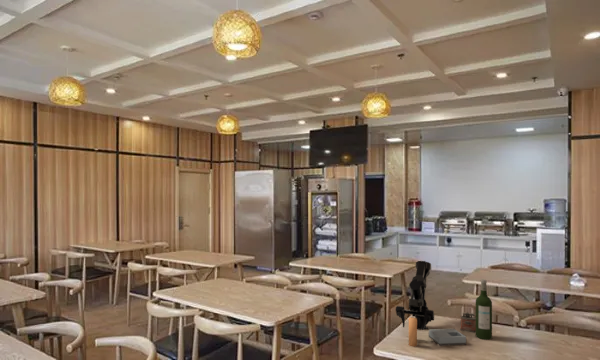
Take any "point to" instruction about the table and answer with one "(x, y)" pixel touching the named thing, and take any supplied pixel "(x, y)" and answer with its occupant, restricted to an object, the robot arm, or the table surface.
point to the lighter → (468, 322)
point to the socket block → (447, 337)
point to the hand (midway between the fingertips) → (413, 328)
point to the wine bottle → (483, 314)
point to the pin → (413, 332)
